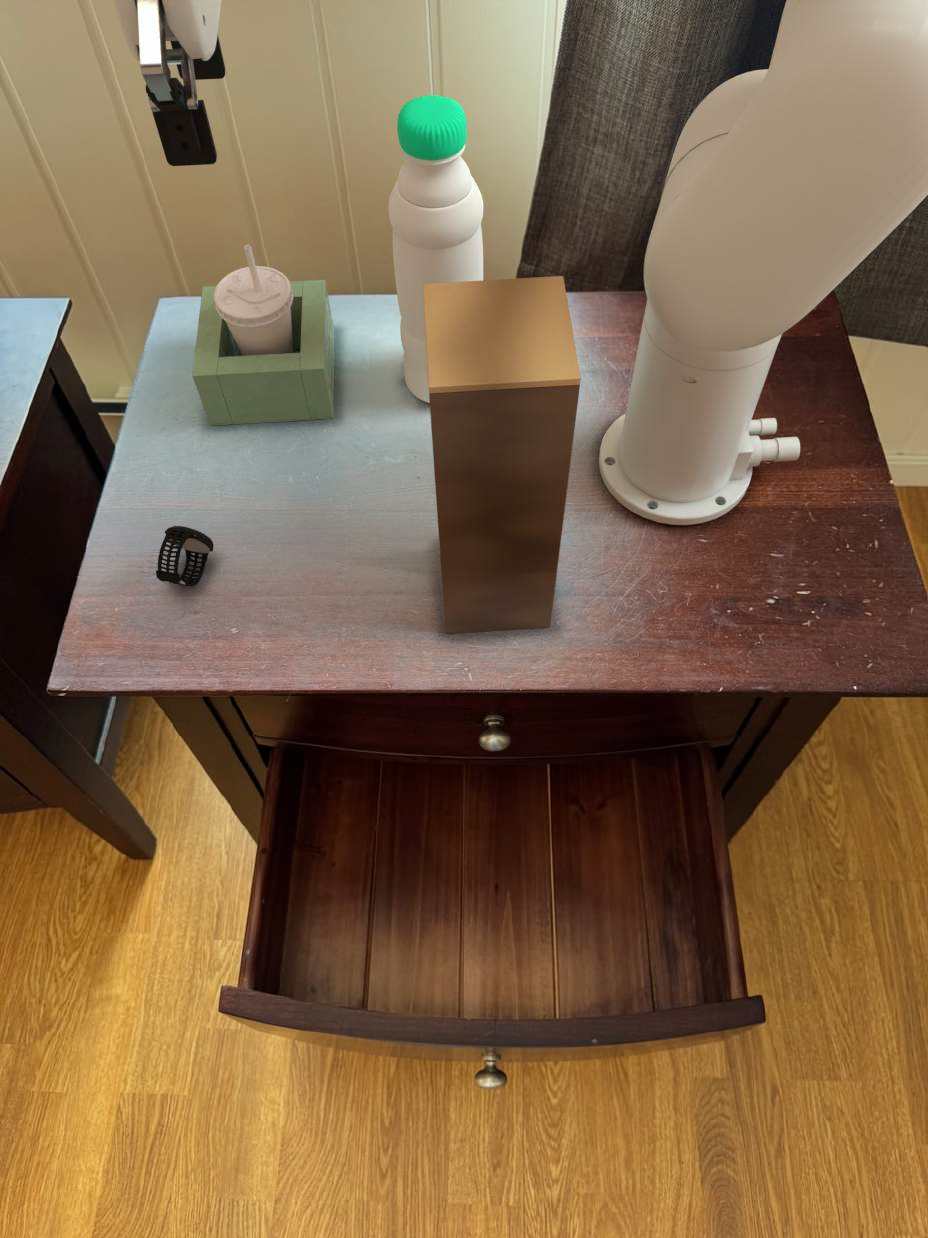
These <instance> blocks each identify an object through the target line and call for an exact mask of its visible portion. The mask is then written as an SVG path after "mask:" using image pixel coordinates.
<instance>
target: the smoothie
mask: <svg viewBox="0 0 928 1238" xmlns="http://www.w3.org/2000/svg"><path fill="white" fill-rule="evenodd" d="M243 250H244V254H245V258H246V262H247V265H248V266H245V267H241V268H237V269H235V270H234V271H231V272H229V273H228V274H226V275H225V276H224V277H222V279H220V281H219V282H218V283H217V285H215V286H216V289H215V292H214V300H215V303H216V310H217V312H218V314H219V315H220V316H221V317H222V318H223V319H224V320H225V321H226V323H227V325H228V327H229V329H230V331H231V333H232V335H233V338H234V340H235V342H236V344H237V346H238V348H239V350H240V352H239V353H240V354H241V355H240V356H250V355H267V354H284V353H294V349H293V339H292V325H291V309H290V307H291V305H292V301H293V292H292V289H291V286H290V282H291V281H290V280H289V278H288V277H287V275H285V274H284V273H282V272H281V271H279V269H275V268H273V267H270V266H269V267H268V266H265V265H264V266H262V265H257V264H256V261H255V257H254V253H253V249H252V245H251V244H245V245H244V246H243Z"/></svg>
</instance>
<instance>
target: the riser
mask: <svg viewBox="0 0 928 1238" xmlns="http://www.w3.org/2000/svg"><path fill="white" fill-rule="evenodd" d="M566 290H567V289H566V283H565V278H564V276H563V275H557V276H556V275H554V276H539V277H538V276H536V277H519V278H518V277H517V278H503V279H501V278H500V279H485V280H484V279H483V280H482V281H465V282H447V283H429V284H423V300H424V317H425V334H426V350H427V367H428V384H429V399H430V403H429V411H430V426H431V427H430V428H431V439H432V440H431V442H432V457H433V470H434V487H435V500H436V502H435V503H436V513H437V515H436V516H437V517H436V518H437V530H438V544H439V545H438V546H439V559H440V576H441V589H442V590H441V591H442V606H443V619H444V621H443V622H444V634H463V633H477V632H495V631H509V630H511V631H512V630H525V629H527V630H528V629H541V628H542V629H544V628H550V627H551V625H552V617H553V609H554V603H555V601H554V600H555V592H556V585H557V577H558V576H557V575H558V568H559V561H560V553H561V545H562V544H561V543H562V535H563V526H564V519H565V511H566V504H567V503H566V502H567V494H568V486H569V479H570V470H571V462H572V455H573V447H574V446H573V445H574V438H575V429H576V421H577V413H578V404H579V397H580V387H581V381H582V376H581V371H580V367H579V366H580V365H579V359H578V354H577V347H576V342H575V341H576V340H575V335H574V331H573V324H572V318H571V313H570V307H569V301H568V295H567V291H566Z"/></svg>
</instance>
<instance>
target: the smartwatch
mask: <svg viewBox="0 0 928 1238" xmlns="http://www.w3.org/2000/svg"><path fill="white" fill-rule="evenodd" d="M164 534H165V535H164V538H163V540H162V543H161V545H160V547H159V553H158V558H157V570H155V576H156V578H157V580H159V581H160V582H168V583H170V584H173V585H178V586H183V587H189V588H191V587H195V586H196V585H198V583H200V580H201V579H202V576H203V573H204V571H205V568H206V565H207V560H208V557H209V554H210V553H212V552H213V551H214V547H215V545H214V542H213V540H212V538H211V537H209V536H208V535H207V534H205V533H203V532H202V531H199V530H197V529H194V528H191V527H189V526H182V525H174V526H169V527H168V528H166V529H165V531H164ZM167 548H168V549H167ZM182 550H184V551H185V552H184V553H185V564H184V568H183V570H182V571H181V575H180V573H179V565H180V557H181V552H182ZM165 552H166V553H167V554H166V553H165ZM173 554H174V555H173ZM172 558H173V559H172ZM165 562H166V563H165ZM171 563H174V564H171ZM191 563H193V564H191ZM170 567H172V568H170ZM189 567H190V568H189Z"/></svg>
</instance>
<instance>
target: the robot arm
mask: <svg viewBox="0 0 928 1238" xmlns="http://www.w3.org/2000/svg"><path fill="white" fill-rule="evenodd" d="M113 5H114V7H115V12H116V14H117V18H118V21H119V24H120V26H121V30H122V34H123V35H124V39H125V41H126V44H127V47H128V49H129V52H130V54H131V56H132V57H133V59H135V60H136V61H137V62H139V66H140V71H141V75H142V78H143V79H144V82H145V83H146V84H145V93H146V94H147V98H148V103H149V107H150V110H151V113H152V117H153V119H154V123H155V126H156V129H157V132H158V133H157V134H158V137H159V139H160V143H161V146H162V151H163V153H164V156H165V159H166V162H167V164H168V165H169V166H172V167H186V166H206V165H207V166H209V165H214V164H216V163H217V159H218V153H217V148H216V145H215V140H214V137H213V132H212V129H211V124H210V120H209V117H208V113H207V108H206V105H205V101H204V99H198V91H197V89H198V88H197V82H196V81H201V80H203V81H204V80H221V79H224V78H225V77H226V64H225V60H224V56H223V52H222V47H221V42H220V38H219V34H218V33H219V26H220V17H221V7H222V0H113ZM781 14H782V15H781V18H780V22H779V26H778V31H777V35H776V38H775V42H774V47H773V50H772V54H771V58H770V63H769V67H768V68H765V69H755V70H751V71H746V72H744V73H741V74H738V75H736V76H734V77H732V78H729V79H728V80H726V81H724V82H723V83H721V84H719V85H717V86H716V88H714V89H713V90H712V91H710V92H709V93H708V95H706V97H704V98H703V99H702V100H701V101H700V103H699V104H698V105H697V107H696V108H695V109H694V110H693V112H692V113H691V115H690V116H689V118H688V120H687V121H686V123H685V125H684V127H683V128H682V131H681V133H680V135H679V137H678V139H677V140H678V141H677V142H676V145H675V148H674V151H673V153H672V154H673V155H672V158H671V161H670V164H669V168H668V171H667V174H666V178H665V181H664V185H663V188H662V192H661V195H660V201H659V205H658V208H657V212H656V214H655V219H654V221H653V225H652V227H651V231H650V234H649V238H648V241H647V246H646V250H645V255H644V262H643V285H644V290H645V295H646V304H645V310H644V313H643V317H642V318H643V319H642V323H641V329H640V335H639V339H638V346H637V351H636V355H635V361H634V367H633V372H632V377H631V382H630V387H629V392H628V393H629V394H628V399H627V405H626V410H625V412H624V413H623V414H621V415H620V416H618V418H617V419H615V420H614V421H613V422H612V424H611V425H609V427H608V428H607V430H606V432H605V434H604V435H603V437H602V440H601V443H600V447H599V454H598V467H599V473H600V476H601V479H602V482H603V484H604V485H605V487H606V488H607V490H608V492H609V493H610V495H611V496H613V498H614V499H615V500H616V501H617V502H618V503H619V504H621V505H622V506H623V507H624V508H626V509H628V510H629V512H632V513H634V514H636V515H638V516H639V517H642V518H643V519H647V520H650V521H653V522H656V523H659V524H666V525H672V526H690V525H691V526H692V525H698V524H704V523H707V522H710V521H713V520H716V519H719V518H720V517H722V516H724V515H725V514H727V513H729V512H730V511H731V510H733V509H734V508H735V507H736V506H737V505H738V504H739V503H740V501H741V500H742V499H743V498H744V496H745V495H746V493H747V490H748V488H749V485H750V483H751V480H752V476H753V467H759V466H760V464H761V462H774V463H777V462H778V463H779V462H793V461H794V462H796V461H797V460H799V458H800V454H801V441H800V439H799V437H798V436H786V437H773V438H772V439H769V438H768V439H761V438H760V436H770V435H776V434H777V430H778V422H777V418H776V417H766V418H758V419H753V416H754V413H755V411H756V407H757V405H758V403H759V400H760V396H761V394H762V391H763V389H764V385H765V382H766V380H767V377H768V374H769V371H770V368H771V365H772V363H773V360H774V357H775V354H776V351H777V348H778V345H779V343H780V341H781V338H782V336H783V334H784V333H785V332H787V331H788V330H790V329H791V328H792V327H793V326H795V325H797V324H798V323H799V322H801V321H802V320H803V319H805V317H806V316H808V314H809V313H811V311H813V310H814V309H815V308H816V307H817V306H818V305H819V304H820V303H821V302H822V301H823V300H824V299H825V298H827V296H828V295H829V294H830V293H831V292H833V290H835V289H836V288H837V286H838V285H839V284H841V283H842V282H843V280H845V279H846V277H848V276H849V275H850V274H851V273H852V272H853V271H854V270H855V269H856V268H857V267H858V266H859V265H860V264H861V263H862V262H863V261H864V260H865V259H866V258H867V257H868V256H869V255H870V254H871V253H872V252H873V251H874V250H875V249H876V248H877V247H878V246H879V245H880V244H881V243H882V242H883V241H884V240H885V239H886V238H887V237H889V235H890V234H891V233H892V232H893V231H894V230H895V229H896V228H897V227H898V226H899V225H900V224H901V223H902V222H903V221H904V220H905V219H906V218H907V217H909V215H910V214H911V213H912V212H913V211H914V210H915V209H916V208H917V207H918V206H919V205H920V203H921V202H923V200H924V199H925V198H927V196H928V0H786V1H785V4H784V8H783V11H782V13H781ZM167 42H170V47H171V48H167ZM169 65H172V66H173V65H176V69H177V71H178V72H177V73H178V75H179V78H180V79H181V80H182V82H181V81H180V80H179V79H178V78H177V77H172V75H171V74H172V73H171V72H172V71H171V69H170V66H169ZM182 83H183V84H182Z"/></svg>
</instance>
